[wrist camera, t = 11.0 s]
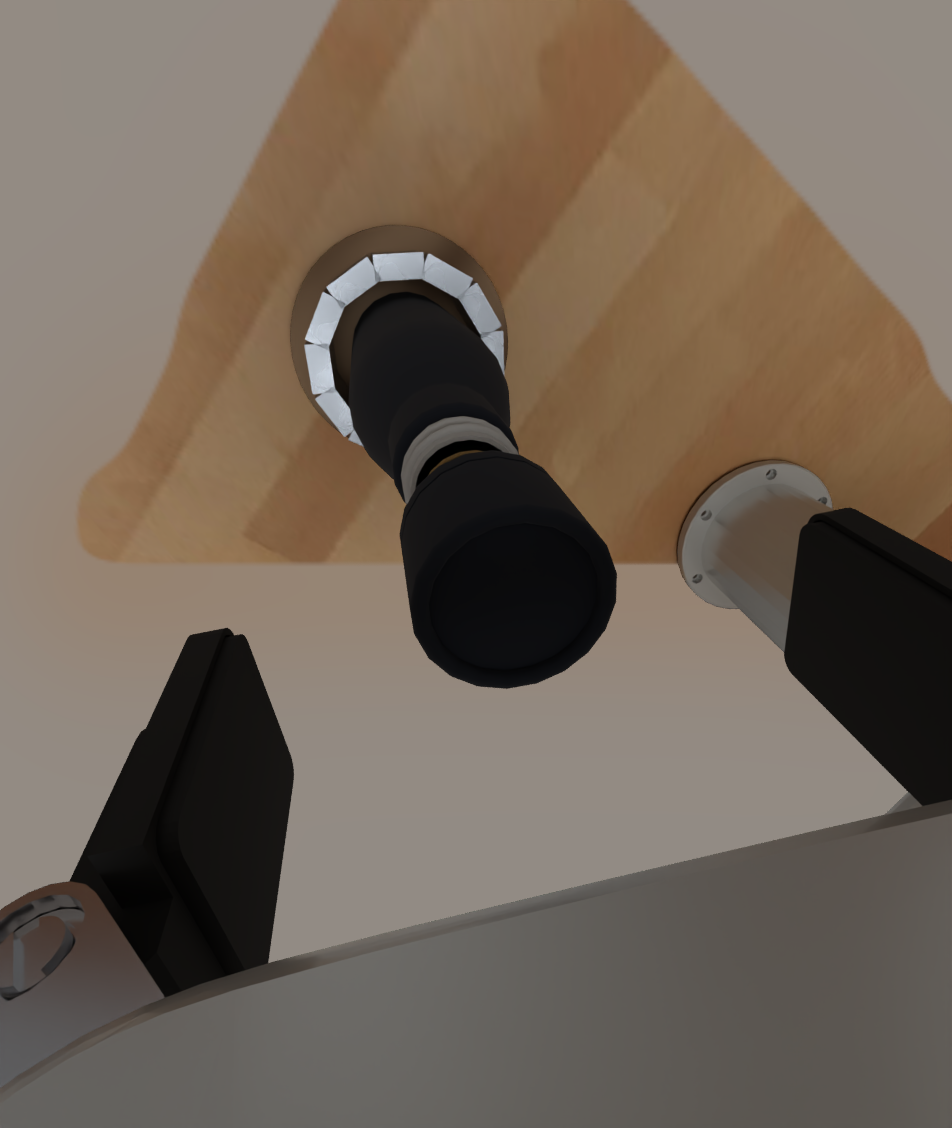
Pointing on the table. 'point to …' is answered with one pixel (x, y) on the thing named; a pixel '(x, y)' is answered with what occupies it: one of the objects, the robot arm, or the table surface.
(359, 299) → the bottle stand
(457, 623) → the black tall rounded piece
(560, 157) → the table surface
